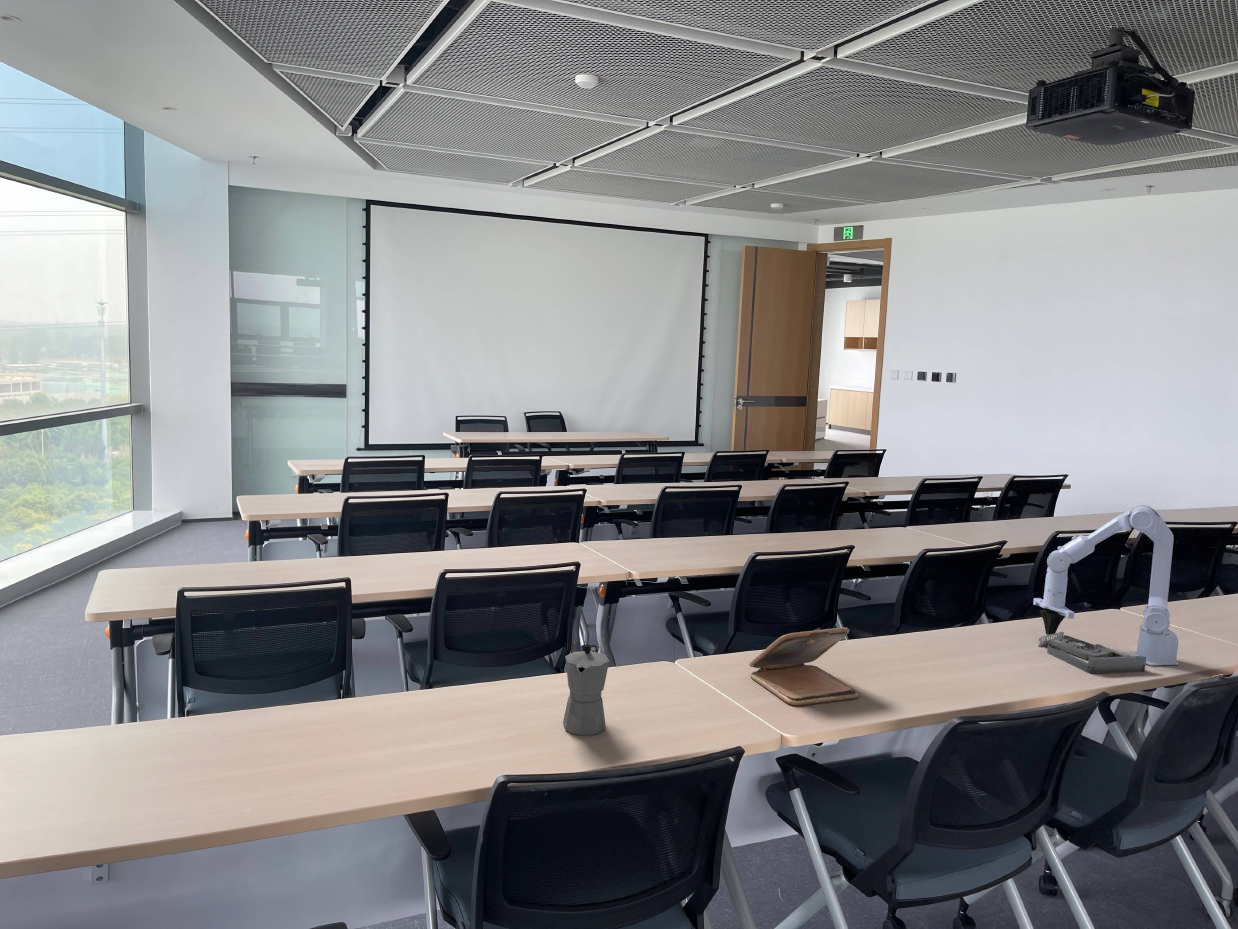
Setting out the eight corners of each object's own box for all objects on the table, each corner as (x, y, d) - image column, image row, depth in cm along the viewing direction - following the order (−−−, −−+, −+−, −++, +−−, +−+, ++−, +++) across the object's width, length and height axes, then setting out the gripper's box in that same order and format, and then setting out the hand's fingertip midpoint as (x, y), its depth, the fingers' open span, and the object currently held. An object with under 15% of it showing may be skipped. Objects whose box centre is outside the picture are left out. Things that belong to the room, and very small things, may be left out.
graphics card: (1035, 635, 243) (1061, 630, 248) (1034, 648, 243) (1060, 642, 249) (1090, 655, 228) (1116, 649, 234) (1089, 668, 228) (1115, 661, 234)
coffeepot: (600, 743, 168) (604, 657, 166) (555, 737, 169) (558, 653, 167) (612, 712, 183) (616, 633, 181) (571, 707, 184) (574, 629, 182)
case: (813, 668, 217) (817, 608, 215) (863, 699, 197) (868, 634, 195) (744, 676, 209) (748, 614, 207) (790, 709, 190) (794, 642, 188)
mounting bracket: (1098, 650, 241) (1100, 637, 240) (1144, 671, 225) (1146, 657, 225) (1047, 652, 237) (1048, 639, 237) (1090, 673, 221) (1092, 659, 221)
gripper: (1026, 584, 252) (1022, 627, 254) (1061, 597, 238) (1056, 643, 240) (1046, 584, 254) (1041, 626, 255) (1082, 597, 240) (1077, 642, 241)
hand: (1050, 634), depth 248 cm, fingers closed
